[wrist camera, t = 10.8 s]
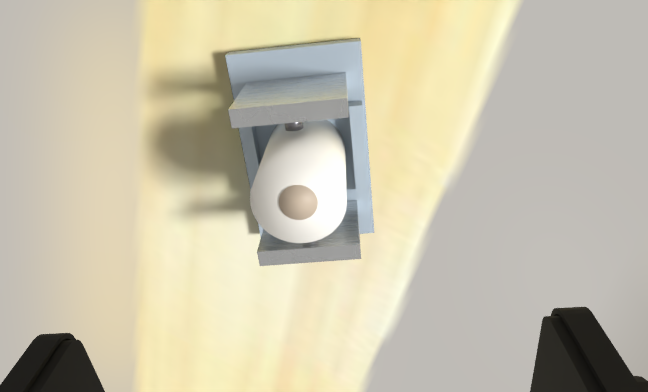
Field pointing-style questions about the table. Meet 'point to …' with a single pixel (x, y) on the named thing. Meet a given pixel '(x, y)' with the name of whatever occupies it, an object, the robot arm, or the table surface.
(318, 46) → the holder
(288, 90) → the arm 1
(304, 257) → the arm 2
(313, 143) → the roll
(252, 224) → the table surface
